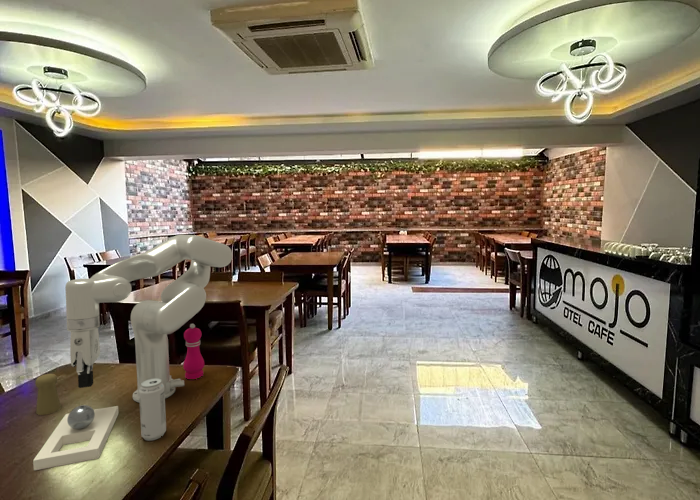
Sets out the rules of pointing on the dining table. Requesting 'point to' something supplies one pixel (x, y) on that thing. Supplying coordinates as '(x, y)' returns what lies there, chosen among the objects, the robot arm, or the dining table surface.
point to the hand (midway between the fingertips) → (86, 385)
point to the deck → (77, 440)
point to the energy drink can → (152, 409)
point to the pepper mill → (193, 353)
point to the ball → (81, 417)
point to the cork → (47, 394)
